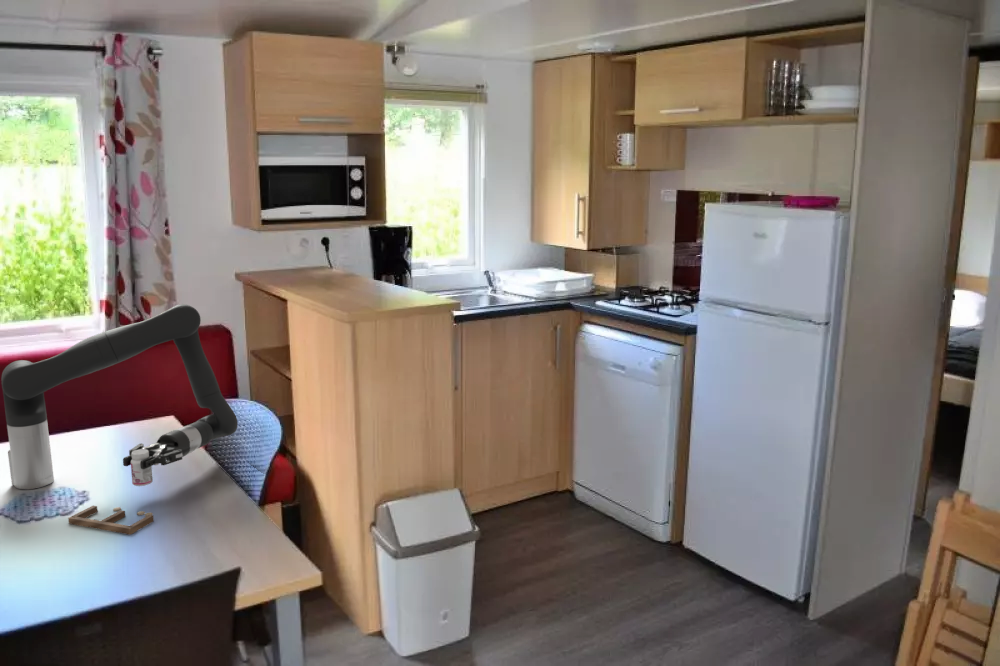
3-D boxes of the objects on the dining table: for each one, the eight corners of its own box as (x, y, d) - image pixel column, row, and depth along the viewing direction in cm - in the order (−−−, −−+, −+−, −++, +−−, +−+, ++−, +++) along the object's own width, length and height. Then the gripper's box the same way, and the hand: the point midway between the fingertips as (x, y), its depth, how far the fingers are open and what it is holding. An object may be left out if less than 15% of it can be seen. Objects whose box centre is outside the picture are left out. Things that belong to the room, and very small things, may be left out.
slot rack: (68, 523, 195) (68, 517, 195) (104, 505, 205) (103, 500, 205) (130, 534, 189) (129, 528, 189) (163, 515, 199) (163, 510, 199)
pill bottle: (128, 484, 207) (125, 452, 205) (144, 478, 211) (141, 447, 209) (141, 488, 205) (138, 456, 203) (156, 481, 209) (154, 450, 207)
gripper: (157, 426, 221) (108, 446, 206) (201, 432, 217) (155, 453, 201) (158, 452, 223) (111, 474, 207) (202, 459, 218) (157, 482, 203)
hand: (133, 463), depth 204 cm, fingers closed on pill bottle, 4 cm apart
